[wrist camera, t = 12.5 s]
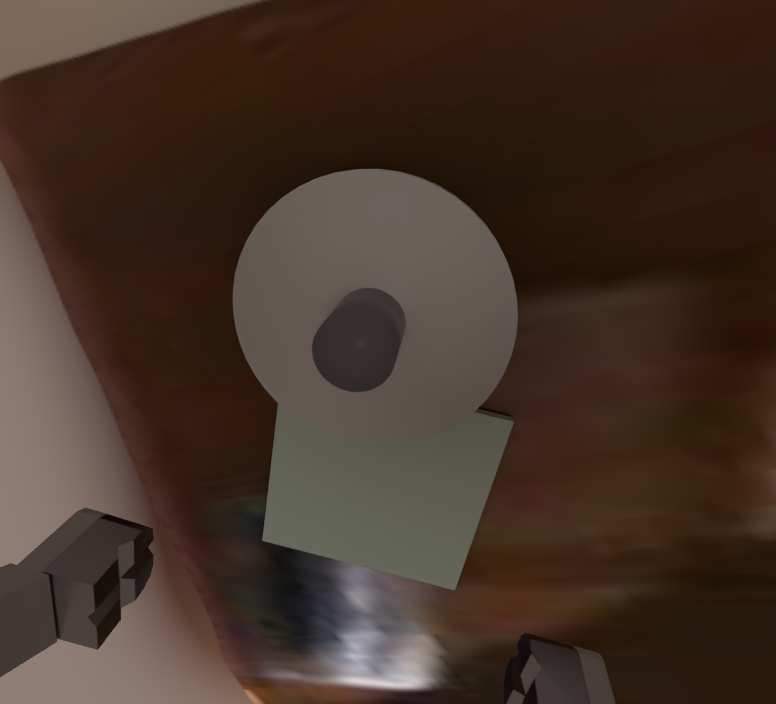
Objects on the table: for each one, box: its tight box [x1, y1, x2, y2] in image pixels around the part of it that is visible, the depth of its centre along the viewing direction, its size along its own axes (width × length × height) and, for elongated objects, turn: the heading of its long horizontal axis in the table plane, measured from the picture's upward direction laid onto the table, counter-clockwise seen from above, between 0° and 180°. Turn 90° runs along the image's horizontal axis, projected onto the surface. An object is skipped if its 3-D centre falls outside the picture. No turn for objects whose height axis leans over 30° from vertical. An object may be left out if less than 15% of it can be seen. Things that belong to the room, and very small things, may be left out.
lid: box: [233, 169, 518, 445], centre depth 22 cm, size 14×14×5 cm
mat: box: [262, 403, 514, 590], centre depth 35 cm, size 16×16×1 cm
